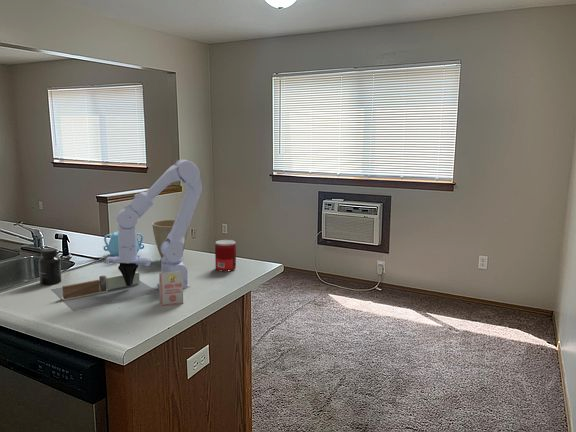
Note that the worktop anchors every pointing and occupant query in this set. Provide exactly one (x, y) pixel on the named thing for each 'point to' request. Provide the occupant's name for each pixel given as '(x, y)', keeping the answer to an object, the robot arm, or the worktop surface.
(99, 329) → the worktop surface
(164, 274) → the pink white carton
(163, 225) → the plant pot
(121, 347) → the worktop surface
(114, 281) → the sage fence panel
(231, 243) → the canned food
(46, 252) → the supplement bottle
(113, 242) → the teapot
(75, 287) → the walnut fence section
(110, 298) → the card
